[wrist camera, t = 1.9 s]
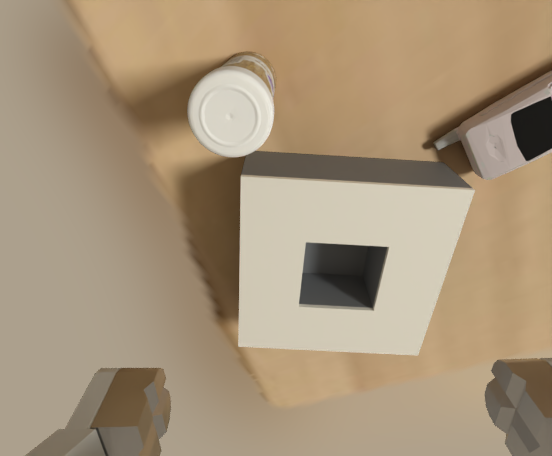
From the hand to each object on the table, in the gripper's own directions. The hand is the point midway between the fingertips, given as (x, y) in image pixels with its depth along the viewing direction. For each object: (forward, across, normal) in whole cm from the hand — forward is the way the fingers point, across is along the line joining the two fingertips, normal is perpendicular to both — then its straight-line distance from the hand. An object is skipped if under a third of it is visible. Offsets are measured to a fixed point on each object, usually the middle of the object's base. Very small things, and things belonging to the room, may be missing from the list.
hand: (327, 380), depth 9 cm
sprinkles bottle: (+27, +3, -5) cm, 28 cm away
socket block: (+27, -4, +11) cm, 30 cm away
